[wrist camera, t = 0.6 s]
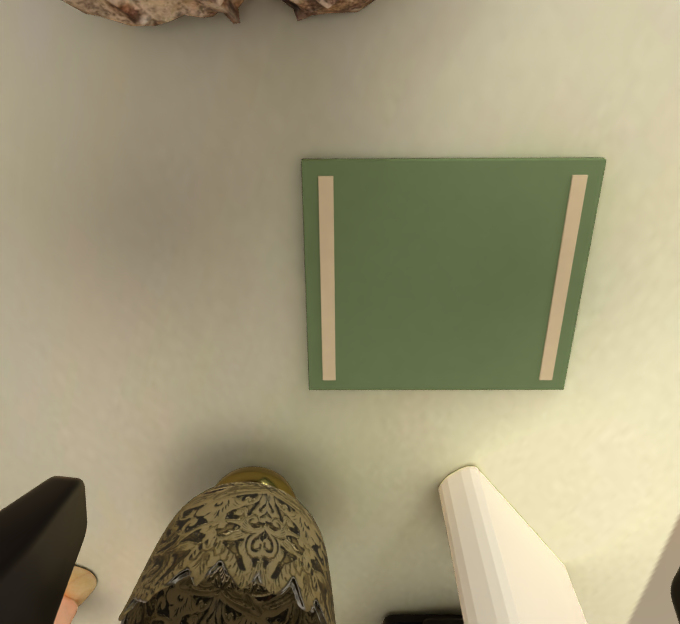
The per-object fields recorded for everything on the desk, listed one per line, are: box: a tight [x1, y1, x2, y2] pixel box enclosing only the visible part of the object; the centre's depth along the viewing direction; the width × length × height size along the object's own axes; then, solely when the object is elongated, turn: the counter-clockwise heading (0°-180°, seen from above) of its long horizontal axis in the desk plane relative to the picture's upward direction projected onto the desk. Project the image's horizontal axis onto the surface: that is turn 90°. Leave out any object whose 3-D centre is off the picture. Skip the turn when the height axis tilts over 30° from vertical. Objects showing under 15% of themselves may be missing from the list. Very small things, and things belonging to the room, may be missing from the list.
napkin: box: [301, 158, 606, 390], centre depth 22 cm, size 9×10×1 cm
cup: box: [119, 466, 336, 624], centre depth 23 cm, size 8×7×8 cm
